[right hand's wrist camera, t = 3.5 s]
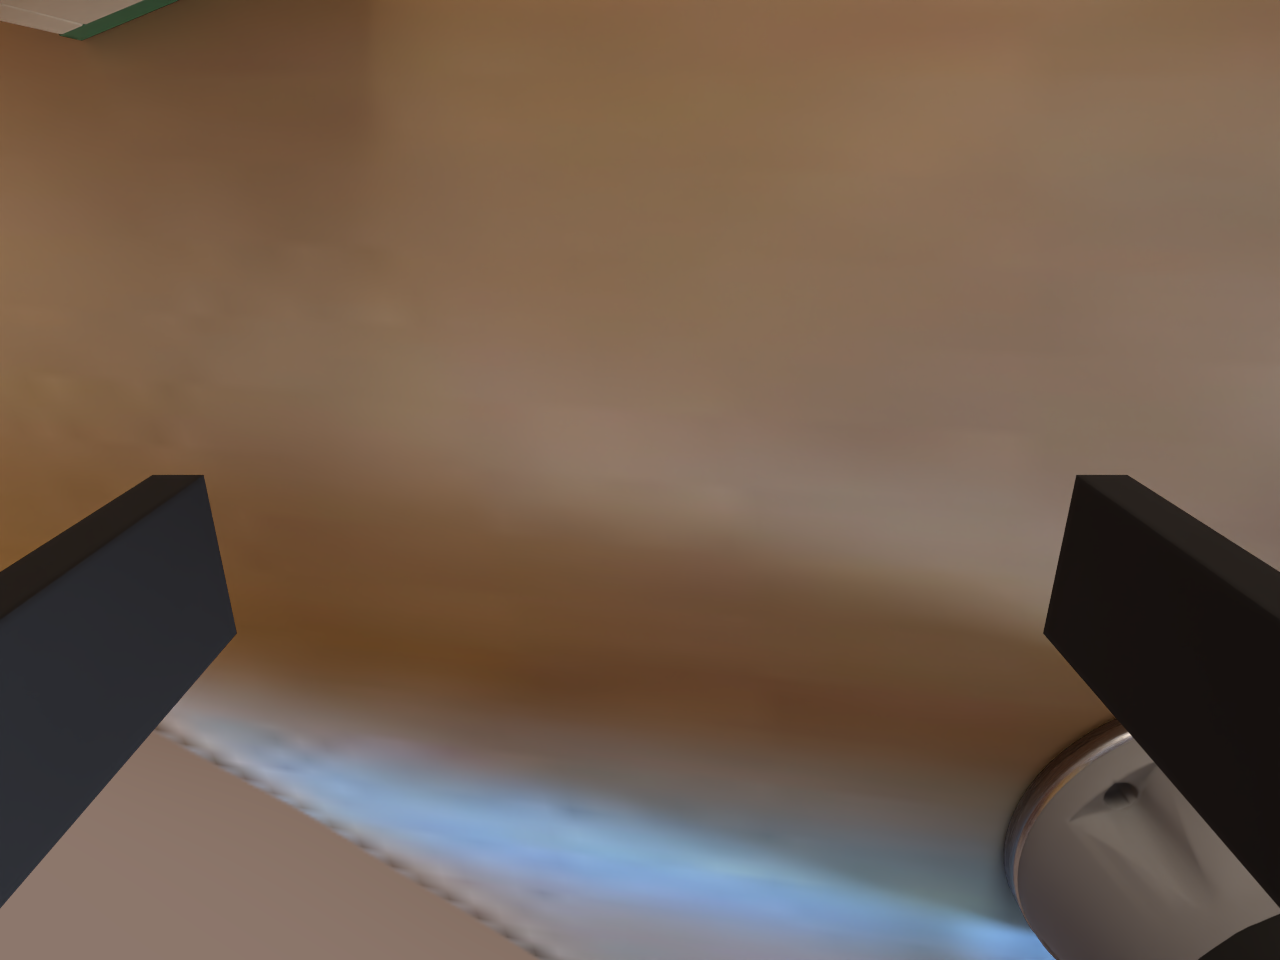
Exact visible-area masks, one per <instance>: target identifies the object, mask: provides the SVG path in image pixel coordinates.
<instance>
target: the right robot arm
mask: <svg viewBox="0 0 1280 960" xmlns="http://www.w3.org/2000/svg"><path fill="white" fill-rule="evenodd" d="M236 634H237V632H236V627H235V623H234V618H233V613H232V608H231V604H230V599H229V594H228V589H227V584H226V580H225V575H224V570H223V565H222V561H221V556H220V551H219V546H218V542H217V537H216V532H215V527H214V522H213V518H212V513H211V508H210V503H209V499H208V494H207V489H206V484H205V480H204V475H152V476H150V477H149V478H147V479H146V480H144V481H143V482H141V483H139V484H138V485H136V486H135V487H133V488H132V489H130V490H128V491H127V492H125V493H124V494H122V495H121V496H119V497H117V498H116V499H114V500H113V501H111V502H110V503H108V504H106V505H105V506H103V507H102V508H100V509H99V510H97V511H95V512H94V513H92V514H91V515H89V516H88V517H86V518H84V519H83V520H81V521H80V522H78V523H77V524H75V525H73V526H72V527H70V528H69V529H67V530H66V531H64V532H63V533H61V534H59V535H58V536H56V537H55V538H53V539H52V540H50V541H48V542H47V543H45V544H44V545H42V546H41V547H39V548H37V549H36V550H34V551H33V552H31V553H30V554H28V555H26V556H25V557H23V558H22V559H20V560H19V561H17V562H15V563H14V564H12V565H11V566H9V567H8V568H6V569H4V570H3V571H1V572H0V908H1V907H2V906H3V904H4V903H5V902H6V901H7V900H8V899H9V897H10V896H11V895H12V894H13V893H14V892H15V890H16V889H17V888H18V887H19V886H20V885H21V884H22V882H23V881H24V880H25V879H26V878H27V877H28V875H29V874H30V873H31V872H32V871H33V870H34V868H35V867H36V866H37V865H38V864H39V863H40V861H41V860H42V859H43V858H44V857H45V856H46V854H47V853H48V852H49V851H50V850H51V849H52V847H53V846H54V845H55V844H56V843H57V842H58V840H59V839H60V838H61V837H62V836H63V835H64V833H65V832H66V831H67V830H68V829H69V828H70V827H71V825H72V824H73V823H74V822H75V821H76V820H77V818H78V817H79V816H80V815H81V814H82V813H83V811H84V810H85V809H86V808H87V807H88V806H89V804H90V803H91V802H92V801H93V800H94V799H95V797H96V796H97V795H98V794H99V793H100V792H101V791H102V789H103V788H104V787H105V786H106V785H107V784H108V782H109V781H110V780H111V779H112V778H113V777H114V775H115V774H116V773H117V772H118V771H119V770H120V768H121V767H122V766H123V765H124V764H125V763H126V761H127V760H128V759H129V758H130V757H131V756H132V754H133V753H134V752H135V751H136V750H137V749H138V748H139V746H140V745H141V744H142V743H143V742H144V741H145V739H146V738H147V737H148V736H149V735H150V733H151V732H152V731H153V730H154V729H155V728H156V727H157V725H158V724H159V723H160V722H161V721H162V720H163V718H164V717H165V716H166V715H167V714H168V713H169V711H170V710H171V709H172V708H173V707H174V706H175V704H176V703H177V702H178V701H179V700H180V699H181V698H182V696H183V695H184V694H185V693H186V692H187V691H188V689H189V688H190V687H191V686H192V685H193V684H194V682H195V681H196V680H197V679H198V678H199V677H200V675H201V674H202V673H203V672H204V671H205V670H206V668H207V667H208V666H209V665H210V664H211V663H212V661H213V660H214V659H215V658H216V657H217V656H218V655H219V653H220V652H221V651H222V650H223V649H224V648H225V646H226V645H227V644H228V643H229V642H230V641H231V639H232V638H233V637H234V636H235V635H236ZM1043 634H1044V635H1045V636H1046V637H1047V638H1048V639H1049V641H1050V642H1051V643H1052V644H1053V645H1054V646H1055V648H1056V649H1057V650H1058V651H1059V652H1060V653H1061V655H1062V656H1063V657H1064V658H1065V659H1066V660H1067V661H1068V663H1069V664H1070V665H1071V666H1072V667H1073V668H1074V670H1075V671H1076V672H1077V673H1078V674H1079V675H1080V677H1081V678H1082V679H1083V680H1084V681H1085V682H1086V684H1087V685H1088V686H1089V687H1090V688H1091V689H1092V691H1093V692H1094V693H1095V694H1096V695H1097V696H1098V698H1099V699H1100V700H1101V701H1102V702H1103V703H1104V705H1105V706H1106V707H1107V708H1108V709H1109V710H1110V711H1111V713H1112V714H1113V715H1114V716H1115V717H1116V718H1117V719H1115V720H1113V721H1110V722H1108V723H1106V724H1104V725H1102V726H1101V727H1099V728H1097V729H1095V730H1093V731H1091V732H1090V733H1088V734H1087V735H1085V736H1084V737H1082V738H1080V739H1079V740H1077V741H1076V742H1074V743H1073V744H1072V745H1070V746H1069V747H1068V748H1067V749H1065V750H1064V751H1063V752H1061V753H1060V754H1059V755H1058V756H1057V757H1056V758H1055V759H1053V760H1052V761H1051V762H1050V763H1049V764H1048V765H1047V766H1046V767H1045V768H1044V769H1043V770H1042V771H1041V773H1040V774H1039V775H1038V776H1037V777H1036V778H1035V780H1034V781H1033V782H1032V783H1031V785H1030V786H1029V787H1028V789H1027V790H1026V792H1025V793H1024V795H1023V796H1022V798H1021V799H1020V801H1019V803H1018V805H1017V807H1016V809H1015V811H1014V813H1013V816H1012V818H1011V821H1010V824H1009V827H1008V831H1007V835H1006V839H1005V847H1004V866H1005V873H1006V877H1007V881H1008V884H1009V887H1010V889H1011V891H1012V894H1013V896H1014V898H1015V900H1016V902H1017V904H1018V906H1019V908H1020V910H1021V912H1022V914H1023V916H1024V918H1025V919H1026V921H1027V923H1028V924H1029V926H1030V928H1031V929H1032V930H1033V932H1034V933H1035V934H1036V936H1037V937H1038V939H1039V940H1040V942H1041V943H1042V944H1043V946H1044V947H1045V948H1046V949H1047V951H1048V952H1049V953H1050V954H1051V955H1052V956H1053V957H1054V958H1055V959H1056V960H1280V572H1279V571H1277V570H1276V569H1274V568H1272V567H1271V566H1269V565H1268V564H1266V563H1265V562H1263V561H1261V560H1260V559H1258V558H1257V557H1255V556H1254V555H1252V554H1250V553H1249V552H1247V551H1246V550H1244V549H1243V548H1241V547H1239V546H1238V545H1236V544H1235V543H1233V542H1232V541H1230V540H1228V539H1227V538H1225V537H1224V536H1222V535H1221V534H1219V533H1217V532H1216V531H1214V530H1213V529H1211V528H1210V527H1208V526H1207V525H1205V524H1203V523H1202V522H1200V521H1199V520H1197V519H1196V518H1194V517H1192V516H1191V515H1189V514H1188V513H1186V512H1185V511H1183V510H1181V509H1180V508H1178V507H1177V506H1175V505H1174V504H1172V503H1170V502H1169V501H1167V500H1166V499H1164V498H1163V497H1161V496H1159V495H1158V494H1156V493H1155V492H1153V491H1152V490H1150V489H1148V488H1147V487H1145V486H1144V485H1142V484H1141V483H1139V482H1137V481H1136V480H1134V479H1133V478H1131V477H1130V476H1128V475H1076V480H1075V484H1074V489H1073V494H1072V499H1071V503H1070V508H1069V513H1068V518H1067V522H1066V527H1065V532H1064V537H1063V542H1062V546H1061V551H1060V556H1059V561H1058V565H1057V570H1056V575H1055V580H1054V584H1053V589H1052V594H1051V599H1050V604H1049V608H1048V613H1047V618H1046V623H1045V627H1044V632H1043Z"/></svg>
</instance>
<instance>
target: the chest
mask: <svg viewBox="0 0 1280 960" xmlns="http://www.w3.org/2000/svg"><path fill="white" fill-rule="evenodd" d="M176 1H178V0H0V21H3V22H8V23H12V24H17V25H21V26H26V27H30V28H35V29H39V30H44V31H48V32H53V33H57V34H59V35H60V36H64V37H68V38H73V39H78V40H84V39H87V38H89V37H91V36H94V35H96V34H99V33H101V32H103V31H106V30H108V29H111V28H113V27H115V26H118V25H120V24H123V23H125V22H128V21H130V20H132V19H135V18H137V17H140V16H142V15H144V14H147V13H149V12H152V11H154V10H156V9H159V8H161V7H164V6H166V5H168V4H171V3H173V2H176Z"/></svg>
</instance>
